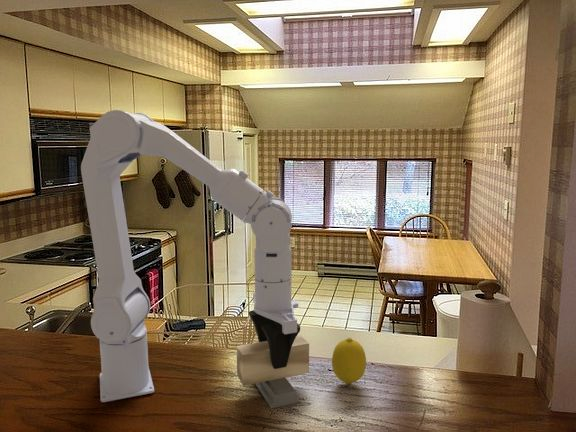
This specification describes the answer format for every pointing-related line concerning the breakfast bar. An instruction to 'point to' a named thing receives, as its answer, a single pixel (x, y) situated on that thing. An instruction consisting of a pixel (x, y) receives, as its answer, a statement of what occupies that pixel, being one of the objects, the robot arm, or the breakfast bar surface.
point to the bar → (258, 362)
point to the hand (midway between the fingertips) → (273, 359)
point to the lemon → (349, 361)
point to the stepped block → (278, 392)
